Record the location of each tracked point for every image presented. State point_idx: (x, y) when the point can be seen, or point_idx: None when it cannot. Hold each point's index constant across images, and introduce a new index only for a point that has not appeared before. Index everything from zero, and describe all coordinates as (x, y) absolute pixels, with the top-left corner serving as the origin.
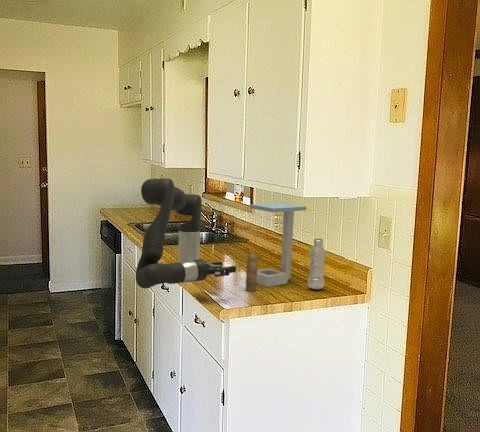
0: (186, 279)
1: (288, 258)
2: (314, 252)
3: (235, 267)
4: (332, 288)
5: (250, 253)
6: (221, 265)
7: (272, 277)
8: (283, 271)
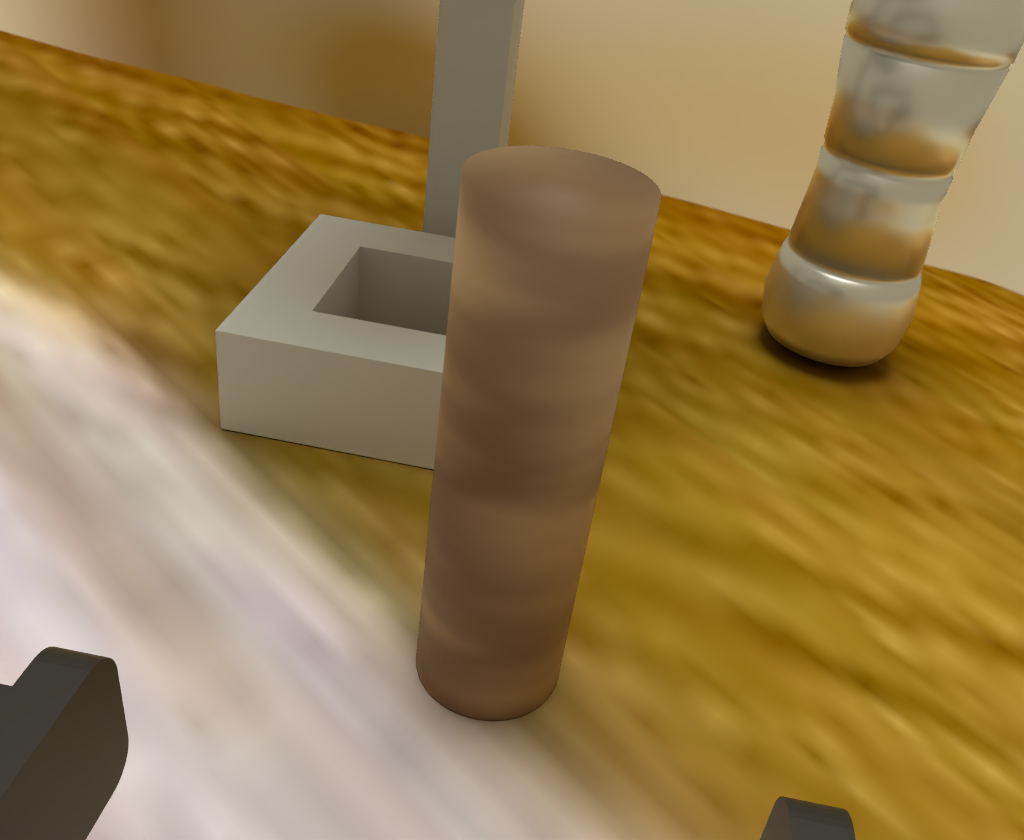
0: None
1: (507, 96)
2: (987, 23)
3: (838, 835)
4: None
5: (474, 156)
6: (108, 745)
7: None
8: None
